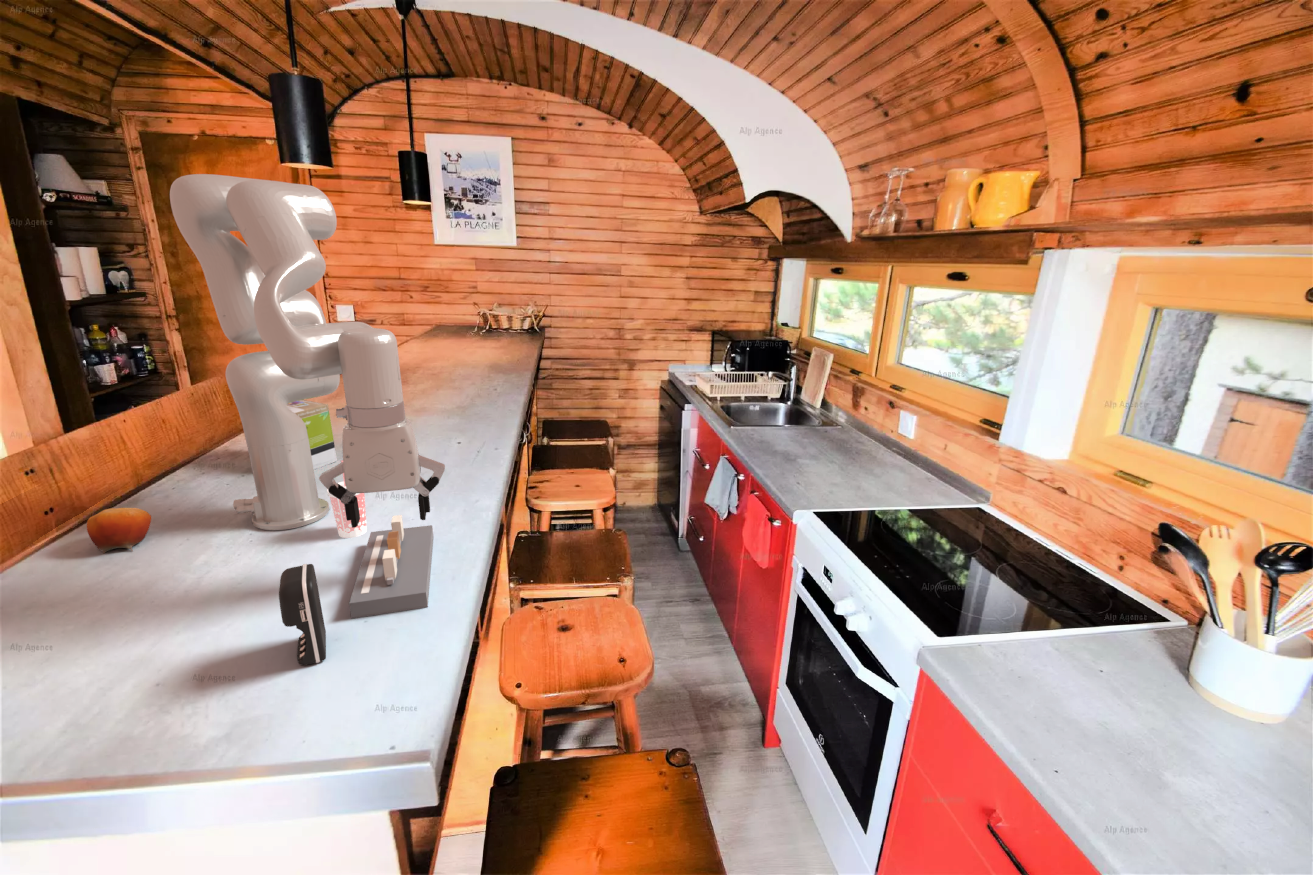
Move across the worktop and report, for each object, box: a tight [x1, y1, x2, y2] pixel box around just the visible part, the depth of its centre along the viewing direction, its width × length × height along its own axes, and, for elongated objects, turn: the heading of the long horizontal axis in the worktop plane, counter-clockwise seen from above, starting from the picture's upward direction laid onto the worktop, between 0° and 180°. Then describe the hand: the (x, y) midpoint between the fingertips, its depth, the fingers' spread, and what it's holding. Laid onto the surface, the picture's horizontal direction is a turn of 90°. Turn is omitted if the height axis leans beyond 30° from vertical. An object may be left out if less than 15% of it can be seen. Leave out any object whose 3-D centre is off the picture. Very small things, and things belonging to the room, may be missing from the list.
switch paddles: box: [382, 514, 404, 585], centre depth 91 cm, size 1×16×4 cm, turn 18°
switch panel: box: [348, 525, 434, 619], centre depth 92 cm, size 10×22×3 cm, turn 18°
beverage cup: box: [326, 459, 368, 539], centre depth 103 cm, size 6×6×14 cm
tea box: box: [287, 399, 338, 471], centre depth 134 cm, size 15×10×15 cm, turn 68°
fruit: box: [86, 507, 152, 554], centre depth 97 cm, size 8×8×8 cm
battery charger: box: [278, 563, 327, 666], centre depth 73 cm, size 7×4×11 cm, turn 29°
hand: (390, 519), depth 89 cm, fingers open, 9 cm apart
